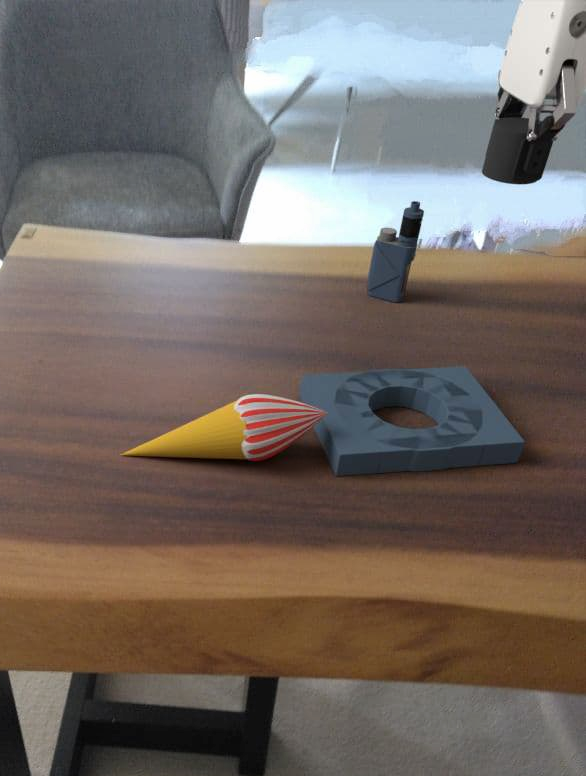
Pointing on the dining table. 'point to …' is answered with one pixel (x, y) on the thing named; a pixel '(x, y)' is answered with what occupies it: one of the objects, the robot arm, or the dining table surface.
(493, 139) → the dark grey cylinder
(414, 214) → the vaping device
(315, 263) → the dining table surface
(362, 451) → the base pad
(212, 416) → the ice cream cone
